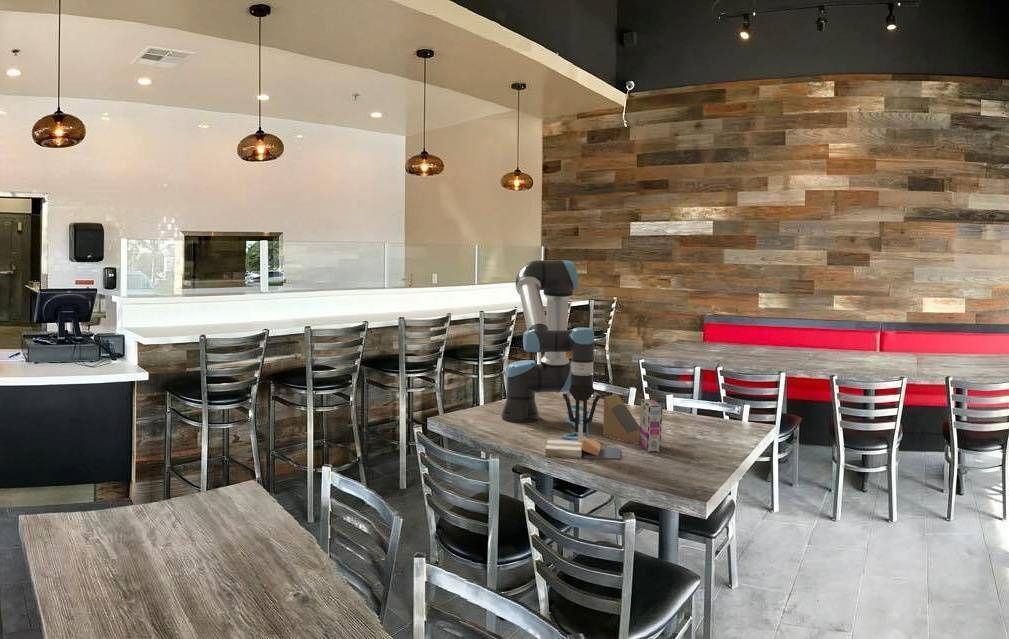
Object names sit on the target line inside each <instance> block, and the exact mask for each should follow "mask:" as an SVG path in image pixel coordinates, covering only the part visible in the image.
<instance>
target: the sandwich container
mask: <svg viewBox="0 0 1009 639" xmlns="http://www.w3.org/2000/svg"><path fill="white" fill-rule="evenodd" d="M602 430H603V433H602V434H603V435H604V436H603V437H606V436H607V437H606V438H610V437H611V438H610V439H613V438H615V439H614V440H617V439H620V440H619V441H621V440H624V441H623V442H625V441H627V442H626V443H629V442H631V443H630V444H633V443H635V444H634V445H638V444H637V443H639V437H640V424H639V423H638V422H637V420H636V419H635V418H634V416H633V414H632V413H631V412H630V410H629V408H628V407H627V406H626V404H625V403H624V401H623V399H622V398H621V396H620V395H619V394H618V393H616V394H611V395H606V396H604V397H603V429H602Z"/></svg>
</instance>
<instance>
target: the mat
mask: <svg viewBox="0 0 1009 639" xmlns="http://www.w3.org/2000/svg"><path fill="white" fill-rule="evenodd" d="M583 457H584V459H593V458H601V459H600V460H612V459H622V458H621V449H620V447H611V446H610V447H606V446H600V452H599V454H598V456H596V455H594V454H591V453H589V452H586V451H584V455H583Z"/></svg>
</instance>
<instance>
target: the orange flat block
mask: <svg viewBox="0 0 1009 639" xmlns="http://www.w3.org/2000/svg"><path fill="white" fill-rule="evenodd" d="M600 447H601V442H599V441H596V440H593V439H592V438H590V437H589V438H586V437H584V438H583V443H582V445H581V449H582V451H584V452H585V451H586V452H589V453H591V454H594V455H596V456H598V454H599V452H600Z"/></svg>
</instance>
